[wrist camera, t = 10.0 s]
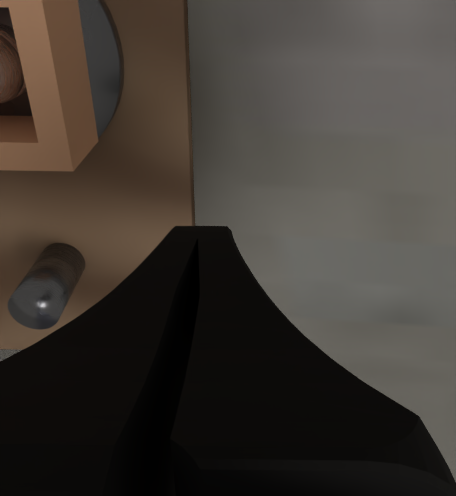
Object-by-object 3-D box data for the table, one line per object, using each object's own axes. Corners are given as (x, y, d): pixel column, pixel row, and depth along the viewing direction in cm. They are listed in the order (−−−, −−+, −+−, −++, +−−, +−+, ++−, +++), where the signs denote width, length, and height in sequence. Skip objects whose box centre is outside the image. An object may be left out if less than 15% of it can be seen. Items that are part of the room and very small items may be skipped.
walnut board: (198, 332, 24) (197, 351, 23) (-16, 329, 24) (-30, 348, 23) (182, -142, 14) (177, -155, 12) (-197, -146, 14) (-241, -159, 12)
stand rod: (88, 279, 20) (64, 330, 17) (46, 278, 20) (14, 329, 17) (81, 242, 19) (54, 290, 16) (36, 242, 19) (1, 289, 16)
